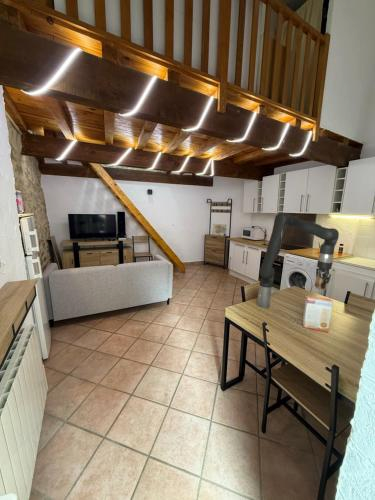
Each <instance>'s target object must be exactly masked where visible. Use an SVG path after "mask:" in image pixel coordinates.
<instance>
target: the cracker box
mask: <svg viewBox="0 0 375 500" xmlns="http://www.w3.org/2000/svg"><path fill="white" fill-rule="evenodd" d="M304 302H305V303H304V307H303V308H304V310H303V317H302V326H303V328H305V329H308V330H313V331H314V330H315V331H320V332H325V333H329V330H330V329H329V327H330V322H331V316H332V311H333V309H332V308H333V305H334V304H333V303H334V302H333V301H332V299H331V298H326V297H318V296H314V295H313V296H312V295H306V296H305V301H304Z"/></svg>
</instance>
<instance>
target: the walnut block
mask: <svg viewBox="0 0 375 500" xmlns="http://www.w3.org/2000/svg"><path fill="white" fill-rule="evenodd" d="M323 278H325V277H323ZM321 284H322V279H321V277H320V276H316V275H315V282H314V287H315V288H316V289H317V290H323V291H324V290H325V291H327V290H328V286H329V283H326V286H325V289H323V288H321Z"/></svg>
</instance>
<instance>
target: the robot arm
mask: <svg viewBox="0 0 375 500" xmlns="http://www.w3.org/2000/svg"><path fill="white" fill-rule="evenodd" d="M272 225H273V227H272V230H271V234H270V238H269V241H268V245H267V247H266V251H265V254H264V258H263V262H262V263H261V265H260V268H259V272H258V273H259V276H260V278H261V279H260V280H259V286H258V292H257V301H256V305H257V306H258V307H260V308H261V309H262V308H263V309H268V308H270V306H271V298H272V297H271V296H272V290H273V289H272V288H273V283H274V281H275V274H276V273H275V268H274V267H273V264H274V263H275V260H277V258H278V256H279V254H280V252H281V248H282V247H283V237H282V234H283V230H284V227H285V226H286V227H294V228H296V229H299V230H300V231H303V233H306V234H310V235H313V236H315V237H317V238H319V239H321V240H323V243H322V244H321V245H320V248H319V254H318V258H317V265H316V267H317V268H316V270H315V277H316V276H320V277H321V279H322V284H321V288H323V289H325V286H326V283H328V284H329V282H330V280H331V278H332V274H330V273H329V270H331V269H332V266H333V261H334V253H335V247H336V245H337V243H338V240H339V235H340V234H339V231H338V229H336V228H332V227H331V228H328V227H325V226H321V225H320V224H319V223H318V224H317V223H315V222H311V221H307V220H304V219H301V218H298V217H296V216H294V215H292V214H290V213H289V212H279V213H277V214H276V215H275V218H274V221H273V224H272ZM323 277H325V278H323ZM323 289H322V290H323Z"/></svg>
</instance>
